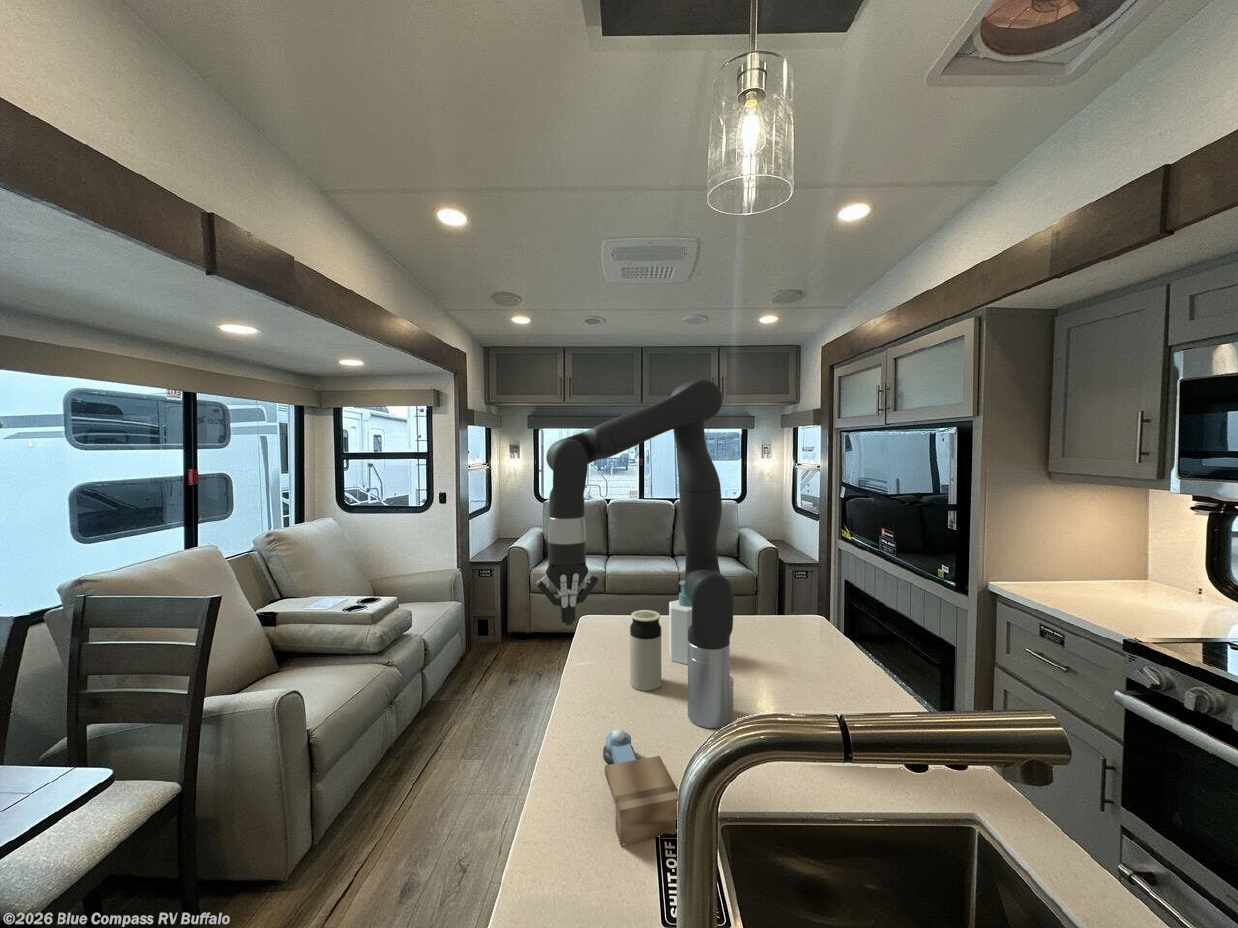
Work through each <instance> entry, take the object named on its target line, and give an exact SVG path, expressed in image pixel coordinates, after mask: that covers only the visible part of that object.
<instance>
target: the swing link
mask: <svg viewBox="0 0 1238 928" xmlns="http://www.w3.org/2000/svg"><path fill="white" fill-rule="evenodd" d="M605 745H606V752H607V753H608V754H609V755H611V756H612V758H613V761H614V764H616V763H621V762H627V761H633V760H637V759H636V755H635V752H634V753H633V751H632V748H631V745H632V737H631V735H630V734H629V733H627V732H625V731H624V730H623V729H621V728H616V729H614V730H612V732H610V733H607V734H606V736H605Z"/></svg>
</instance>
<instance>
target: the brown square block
mask: <svg viewBox="0 0 1238 928" xmlns="http://www.w3.org/2000/svg"><path fill="white" fill-rule="evenodd" d="M665 765H666V764H665V763H664V761H663V760H662V757H661V756H660V755H657V756H651V757H645V758H644V757H643V758H639V759H636V760H633V761H627V762H621V763H616V764H606V765H604V776H605V778H606V782H607V785H608V787H609V790H610V794H611V797H612V798H613V802H614V805H615V806H614V807H615V833H616V835H617V836H618V837H617V839H619V840H618V842H620V843H619V846H620V845H623V844H627V845H630V844H629V843H632V844H636V843H639V842H645V841H650V840H654V839H657V838H656V837H658V836H661V835H663V834H665V833H666V834H667V833H669V834H672V835H677V834H676V817H677V801H678V791H679V790H678V788H677V786H676V784H675V782H674V780H673V778H672V776H671V775H670V773H669V771H668V769H667V767H666V766H665ZM623 846H624V845H623Z"/></svg>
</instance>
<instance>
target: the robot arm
mask: <svg viewBox="0 0 1238 928" xmlns="http://www.w3.org/2000/svg"><path fill="white" fill-rule="evenodd" d="M722 405H723V393H722V392H721V389H720V388H719V387H718V386H717V385H716V384H715V383H714V382H712V381H710V380H707V379H695V380H691V381H688V382H685V383H682V384H680V385H678V386H676V388H674V390H673V391H672V393H671V395H670V397H669V398H667V399H665V400H662V401H660V402H657V403H655V404H653V405H651V406H650V405H649V406H647V407H644V408H641V409H638V410H635V411H631V412H629V413H625V414H622V415H620V416H616V417H615V418H612V419H609V420H607V421H605V422H602V423H600V424H598V425H596V426H594V427H592V428H589V429H588V430H586V431H581V432H579V433H576V434H574V435H571V436H567V437H564V438H561V439H559V440H558V441H554V443H552V444H551V445H550V446H549V448H548V450H547V452H546V455H545V457H546V458H545V459H546V463H547V466H548V467H549V468H550V470H552V489H551V490H550V493H549V502H548V503H549V504H548V505H549V506H548V507H549V508H548V514H549V515H548V516H549V517H548V518H549V519H548V527H547V530H548V532H547V533H548V535H547V538H548V539H547V543H548V546H547V547H548V548H547V549H548V551H547V552H548V554H547V555H548V556H547V558H548V559H547V561H548V565H547V568H546V570H545V575H544V576H543V577H541V578H539V579H537V580H536V581H535V584H536V586H537V587H538V589H539V590H540V592H542V593H543V595H545V596H546V598H547V599H548V600H549V601H550V602H551V603H552V605H553V606H554V607H557V606H558V607H559V619H560V621H561V623H562V624H563V625H564V626H573V623H574V622H575V621H576V606H577V605H578V604H582V603H584V602H585V600H586V599H587V597H588V596H589V595H590V593H591V592H592V591H593V589H594V587H595V586H596V585H597V583H598V582H599V577H597V576H596V575H595V574H593V573H591V572H589V567H588V566H587V546H586V545H587V541H586V539H587V532H586V531H587V530H586V529H587V527H586V520H585V497H584V496H585V489H586V483H587V475H588V465H589V464H591V463H593V462H595V461H598V460H605V459H608V458H611V457H614V456H615V455H618V454H620V453H623V452H625V451H627V450H629V449H633V448H634V447H636V446H638V445H640V444H642V443H644V442H647V441H648V440H651V439H653V438H656V437H657V436H659V435H661V434H664V433H666V432H669V431H671V430H672V431H673V435H674V442H675V448H676V463H677V465H676V466H677V475H678V476H677V477H678V491H679V506H680V507H679V508H680V514H681V523H682V524H681V525H682V532H683V538H684V545H685V562H684V563H685V567H684V568H685V569H684V570H685V571H684V580H685V590H686V594H687V596H688V598H689V599H690V601H691V602H692V624H691V626H690V627H689V629H688V665H687V717H688V719H689V720H690V721H691V722H692V723H693V724H695V725H697V726H699V727H702V728H707V729H718V728H722V727H724V726H726V725H727V724H728V723H729V722H733V721H734V678H733V677H732V676H731V675H730V674H731V673H730V669H731V668H730V667H731V665H730V663H731V662H730V661H731V659H730V655H731V654H730V649H731V648H730V647H731V646H730V645H731V643H730V642H731V641H730V640H731V635H732V632H733V626H734V608H735V607H734V606H735V604H734V603H735V602H734V601H735V599H734V598H735V597H734V590H733V586H732V584H731V582H730V580H728V579H727V578H726V577H725V576H724V575H723V574H722V573H721V570H720V564H719V558H718V550H717V548H718V547H717V544H718V542H717V541H718V536H719V530H720V525H721V520H722V514H723V513H722V511H723V510H722V509H723V505H722V503H723V502H722V487H721V482H720V476H719V475H718V472H717V469H716V466H715V464H714V462H713V460H712V457H711V455H710V453H709V450H708V447H707V443H706V435H705V422H708V421H710V420H711V419H713V418H715V417H716V416H717V415H718V413H719V412H720V410H721V409H722ZM549 581H550V582H551V583H552V585H553V586H554V587H555V588H556V589H557V592H558V593H557V594H558V597H557V596H555V594H554V593H553V592H552V591H551V590H550V589H549V588H550V583H549ZM583 581H584V583H583ZM582 583H583V585H581V584H582ZM580 586H581V587H580ZM579 587H580V589H579V590H578V588H579Z"/></svg>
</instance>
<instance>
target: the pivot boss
mask: <svg viewBox="0 0 1238 928" xmlns="http://www.w3.org/2000/svg"><path fill="white" fill-rule="evenodd" d="M631 748H632V751H633V753H634V754H635V751H634V747H633V745H632V744H631ZM602 752H603V753H602V754H603V755H602V757H603V761H605V763H606V764H607V765H610V764H614V761H613V758H612V756H611V755H609V754H608V753H607V752H606V744H605V745H604V747H603V749H602Z"/></svg>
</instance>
